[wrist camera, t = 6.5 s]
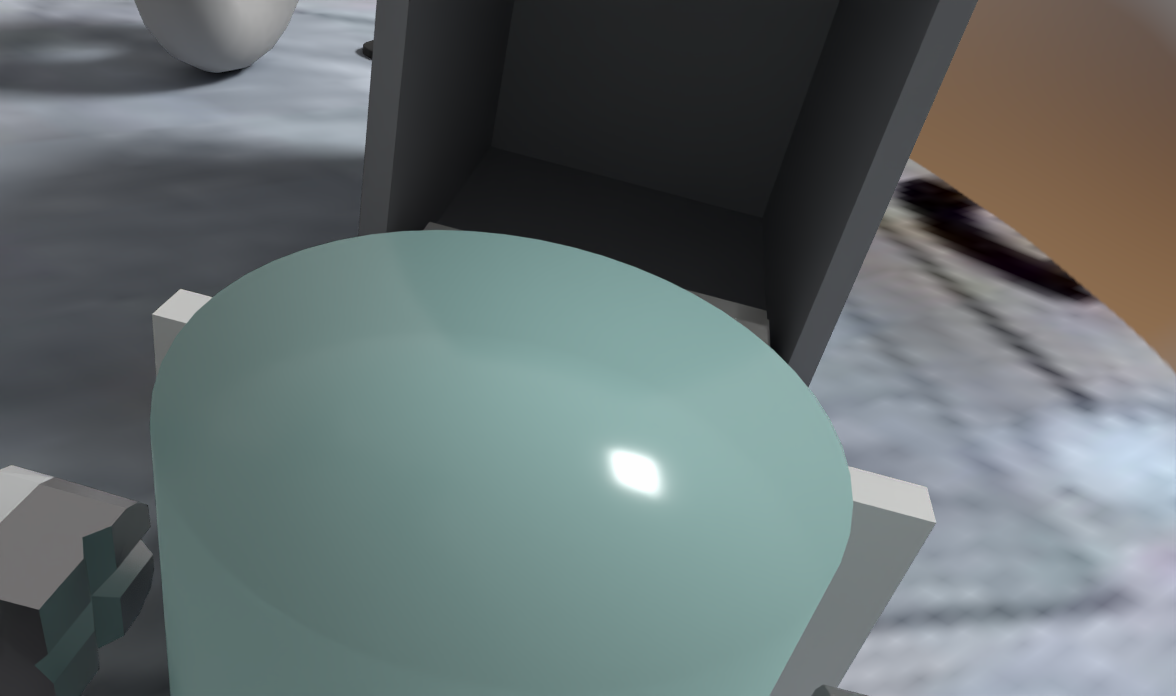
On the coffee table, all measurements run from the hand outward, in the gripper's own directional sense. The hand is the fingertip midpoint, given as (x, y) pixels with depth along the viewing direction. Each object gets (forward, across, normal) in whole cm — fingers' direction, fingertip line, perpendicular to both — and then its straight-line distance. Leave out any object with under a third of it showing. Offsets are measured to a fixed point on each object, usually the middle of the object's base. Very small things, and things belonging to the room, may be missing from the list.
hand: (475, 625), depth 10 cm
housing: (+19, 0, +6) cm, 20 cm away
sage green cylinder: (-1, 0, +6) cm, 6 cm away
